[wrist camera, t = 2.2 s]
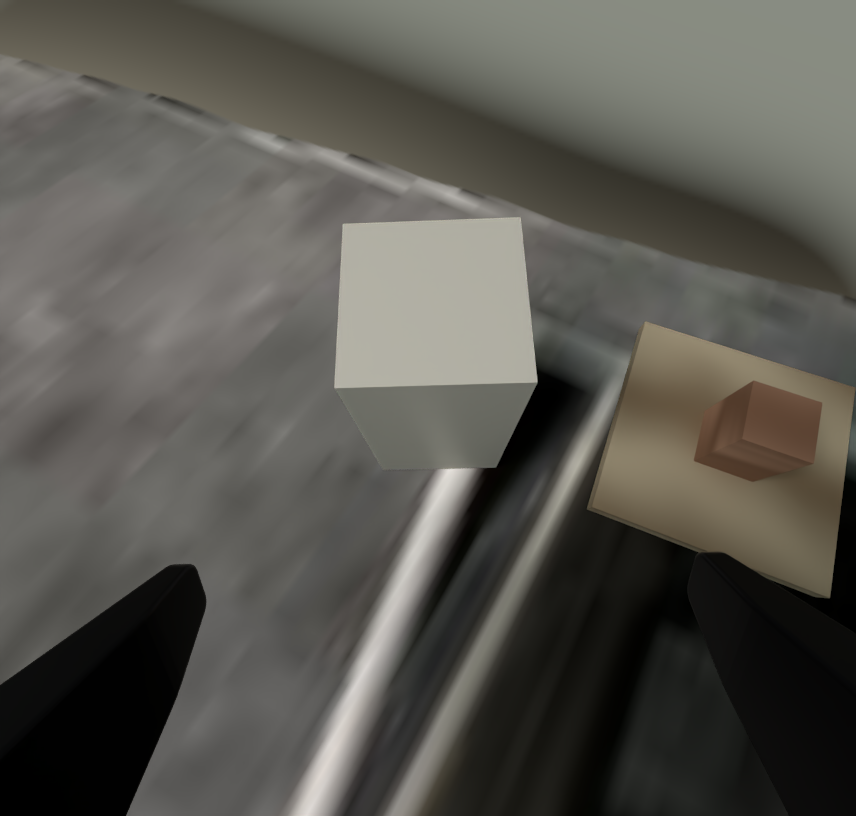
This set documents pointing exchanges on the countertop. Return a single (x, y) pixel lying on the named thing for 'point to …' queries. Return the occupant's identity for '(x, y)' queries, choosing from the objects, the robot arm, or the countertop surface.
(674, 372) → the beige board with block
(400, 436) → the tall pale rectangular prism
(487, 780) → the countertop surface
